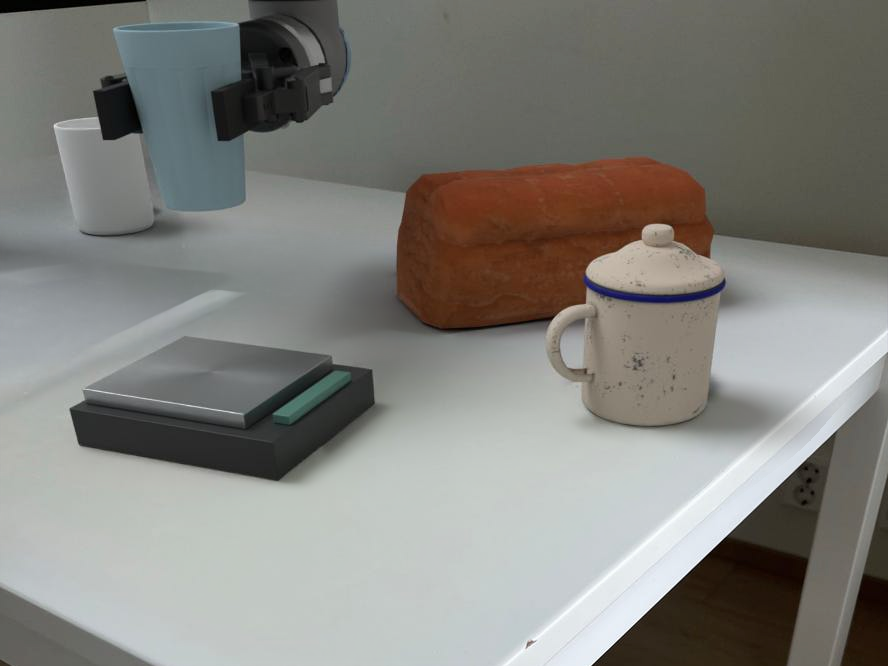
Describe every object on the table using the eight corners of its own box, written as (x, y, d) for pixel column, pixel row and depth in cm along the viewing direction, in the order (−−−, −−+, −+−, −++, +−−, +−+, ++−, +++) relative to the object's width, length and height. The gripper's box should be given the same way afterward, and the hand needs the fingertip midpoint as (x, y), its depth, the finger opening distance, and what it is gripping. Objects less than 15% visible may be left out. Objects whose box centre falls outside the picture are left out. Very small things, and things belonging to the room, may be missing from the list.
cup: (235, 217, 65) (207, 29, 59) (127, 214, 66) (89, 30, 60) (278, 193, 71) (256, 20, 65) (178, 191, 72) (148, 21, 66)
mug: (159, 210, 121) (141, 111, 115) (153, 233, 111) (133, 126, 105) (85, 214, 119) (63, 114, 113) (73, 238, 110) (47, 130, 104)
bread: (725, 303, 88) (742, 172, 82) (437, 340, 81) (432, 200, 75) (643, 259, 100) (652, 143, 94) (386, 288, 93) (378, 164, 87)
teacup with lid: (667, 372, 74) (684, 205, 68) (735, 417, 67) (761, 235, 61) (519, 396, 71) (521, 222, 64) (574, 445, 64) (583, 256, 57)
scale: (78, 444, 65) (64, 393, 63) (195, 377, 75) (187, 330, 73) (278, 480, 60) (270, 426, 58) (375, 403, 70) (371, 354, 68)
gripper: (391, 126, 81) (325, 184, 62) (158, 125, 83) (25, 181, 64) (385, 17, 76) (312, 44, 58) (139, 18, 78) (-9, 45, 60)
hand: (161, 116), depth 61 cm, fingers closed on cup, 7 cm apart
